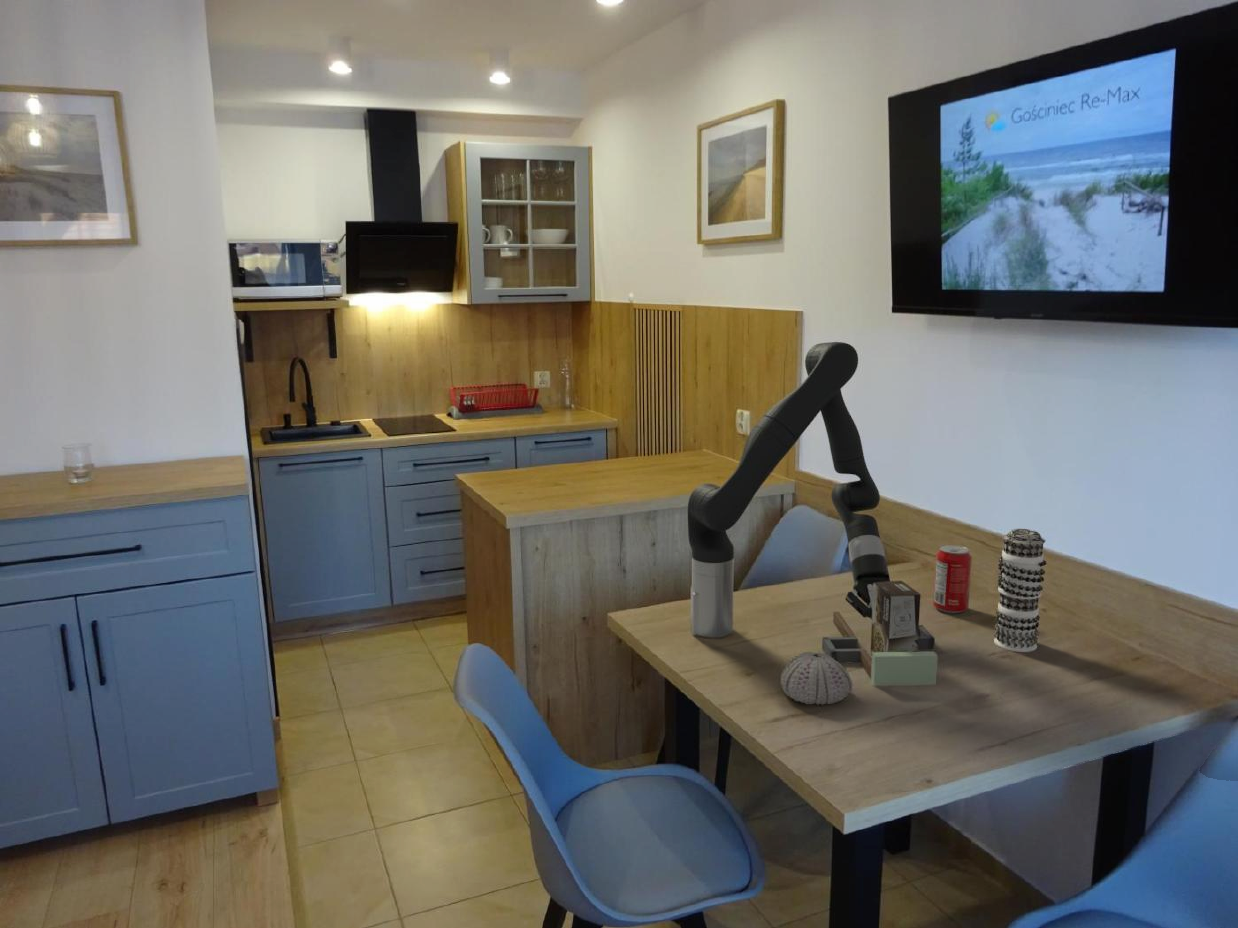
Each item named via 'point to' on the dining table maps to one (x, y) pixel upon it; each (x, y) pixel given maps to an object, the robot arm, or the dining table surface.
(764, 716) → the dining table surface
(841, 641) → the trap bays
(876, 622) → the coffee box
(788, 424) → the robot arm
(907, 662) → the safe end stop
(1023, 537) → the white grey tall cylinder
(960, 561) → the soda can
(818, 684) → the sea urchin shell
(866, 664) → the walnut lane
